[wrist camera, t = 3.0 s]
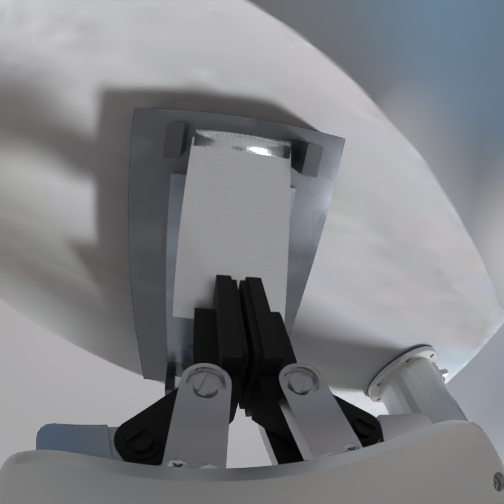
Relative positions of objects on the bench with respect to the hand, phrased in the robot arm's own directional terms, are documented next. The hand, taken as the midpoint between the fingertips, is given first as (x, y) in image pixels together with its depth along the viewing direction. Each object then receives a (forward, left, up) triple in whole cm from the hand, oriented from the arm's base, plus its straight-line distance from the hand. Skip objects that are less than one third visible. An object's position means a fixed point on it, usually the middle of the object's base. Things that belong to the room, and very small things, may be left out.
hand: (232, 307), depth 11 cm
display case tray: (0, +4, -11) cm, 12 cm away
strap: (0, -2, -4) cm, 5 cm away
